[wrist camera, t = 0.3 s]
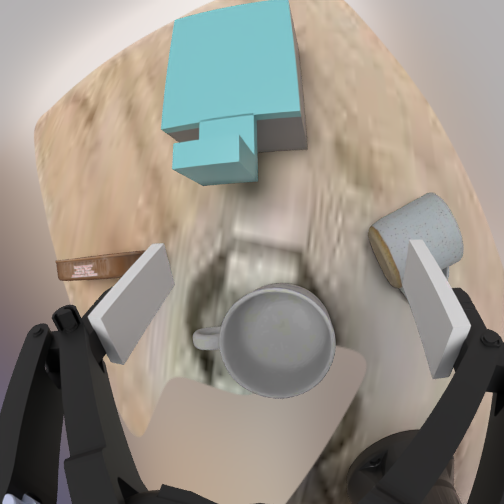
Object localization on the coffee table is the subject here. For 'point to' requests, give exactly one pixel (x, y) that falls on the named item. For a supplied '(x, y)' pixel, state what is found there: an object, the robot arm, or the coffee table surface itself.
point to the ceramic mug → (416, 236)
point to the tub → (271, 125)
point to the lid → (229, 87)
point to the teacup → (274, 341)
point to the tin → (97, 266)
